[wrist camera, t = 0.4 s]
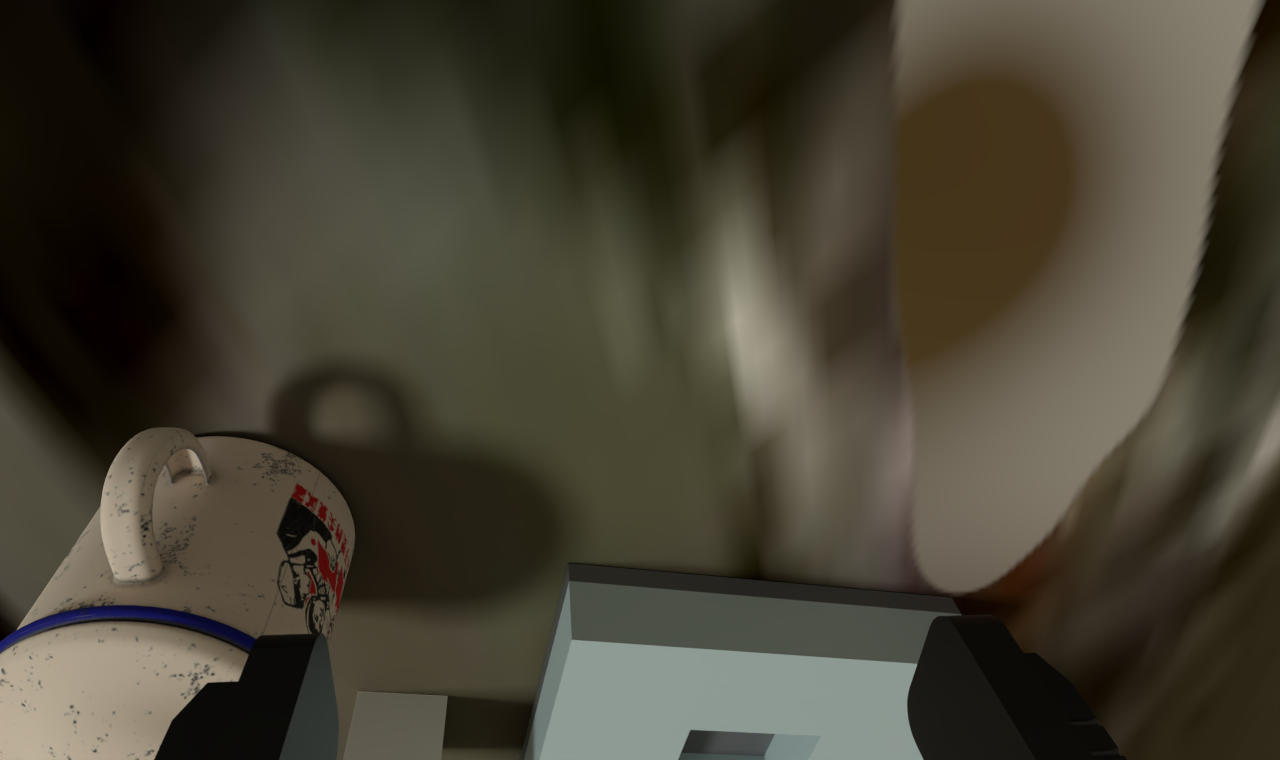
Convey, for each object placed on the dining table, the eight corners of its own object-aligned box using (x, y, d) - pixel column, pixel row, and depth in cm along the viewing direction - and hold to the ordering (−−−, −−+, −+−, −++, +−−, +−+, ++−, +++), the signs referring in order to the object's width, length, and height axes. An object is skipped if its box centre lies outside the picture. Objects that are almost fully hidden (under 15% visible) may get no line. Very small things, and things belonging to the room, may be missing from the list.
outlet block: (568, 563, 34) (571, 639, 31) (951, 597, 38) (992, 668, 34) (512, 787, 42) (510, 868, 39) (833, 797, 46) (856, 871, 42)
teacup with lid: (373, 603, 34) (307, 901, 24) (139, 608, 33) (-30, 923, 23) (344, 356, 28) (239, 623, 18) (53, 350, 27) (-229, 633, 17)
